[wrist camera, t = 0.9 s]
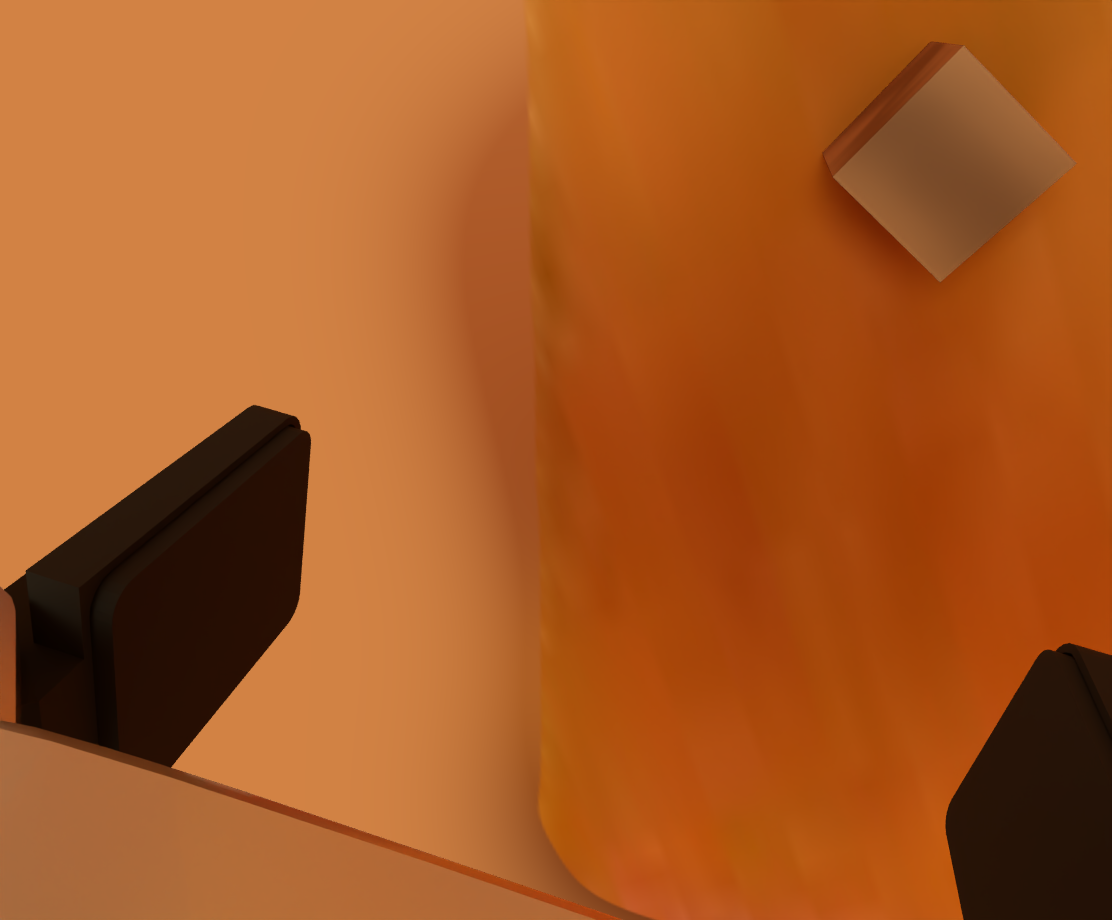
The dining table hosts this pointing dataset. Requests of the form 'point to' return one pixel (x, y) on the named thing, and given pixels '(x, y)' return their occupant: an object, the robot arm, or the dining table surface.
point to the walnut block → (945, 157)
